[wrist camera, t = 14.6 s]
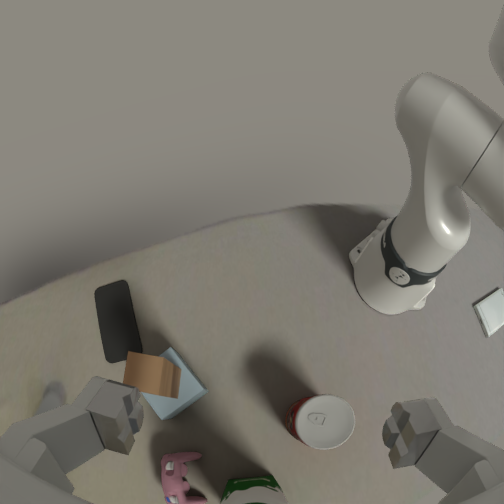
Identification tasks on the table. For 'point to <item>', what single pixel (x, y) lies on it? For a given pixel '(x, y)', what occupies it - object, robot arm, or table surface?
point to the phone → (117, 321)
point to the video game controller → (178, 478)
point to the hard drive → (491, 312)
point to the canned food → (321, 421)
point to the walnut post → (152, 375)
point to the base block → (188, 389)
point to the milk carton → (253, 491)
